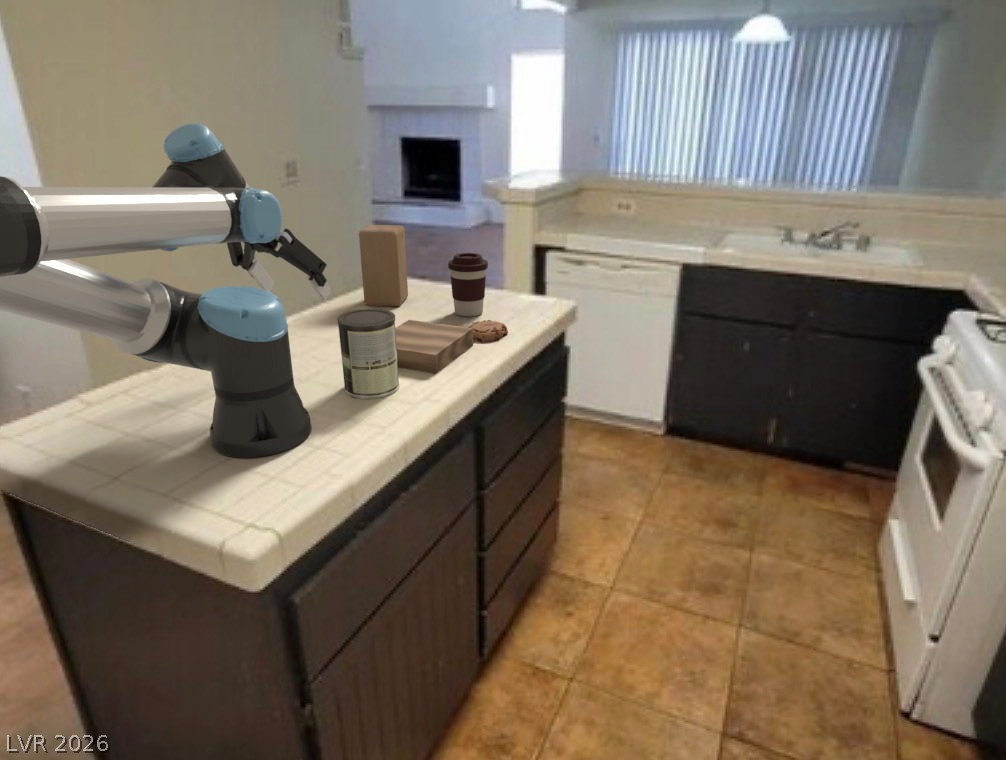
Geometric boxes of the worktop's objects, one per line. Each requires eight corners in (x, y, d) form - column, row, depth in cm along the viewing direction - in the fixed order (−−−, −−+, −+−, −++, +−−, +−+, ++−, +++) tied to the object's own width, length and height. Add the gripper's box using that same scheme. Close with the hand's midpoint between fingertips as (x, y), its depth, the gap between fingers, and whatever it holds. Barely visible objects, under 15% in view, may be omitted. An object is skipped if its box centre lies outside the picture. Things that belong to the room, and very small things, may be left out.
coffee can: (332, 391, 120) (324, 319, 114) (369, 373, 128) (364, 305, 122) (374, 404, 115) (368, 329, 109) (410, 384, 123) (406, 313, 117)
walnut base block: (436, 373, 128) (435, 354, 126) (367, 362, 133) (366, 344, 132) (473, 345, 143) (472, 328, 142) (410, 336, 149) (409, 319, 147)
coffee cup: (443, 316, 163) (442, 258, 157) (457, 306, 172) (456, 250, 166) (480, 320, 160) (480, 260, 154) (492, 309, 169) (492, 252, 163)
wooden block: (409, 297, 179) (405, 224, 171) (400, 307, 170) (395, 231, 162) (374, 296, 180) (368, 224, 172) (363, 306, 171) (357, 230, 163)
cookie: (466, 344, 145) (466, 331, 144) (464, 329, 155) (464, 317, 154) (510, 343, 146) (510, 330, 145) (505, 328, 156) (506, 316, 154)
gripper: (309, 199, 107) (359, 282, 124) (194, 191, 115) (256, 271, 133) (289, 231, 103) (343, 313, 121) (171, 221, 112) (238, 299, 129)
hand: (298, 291), depth 127 cm, fingers open, 13 cm apart
